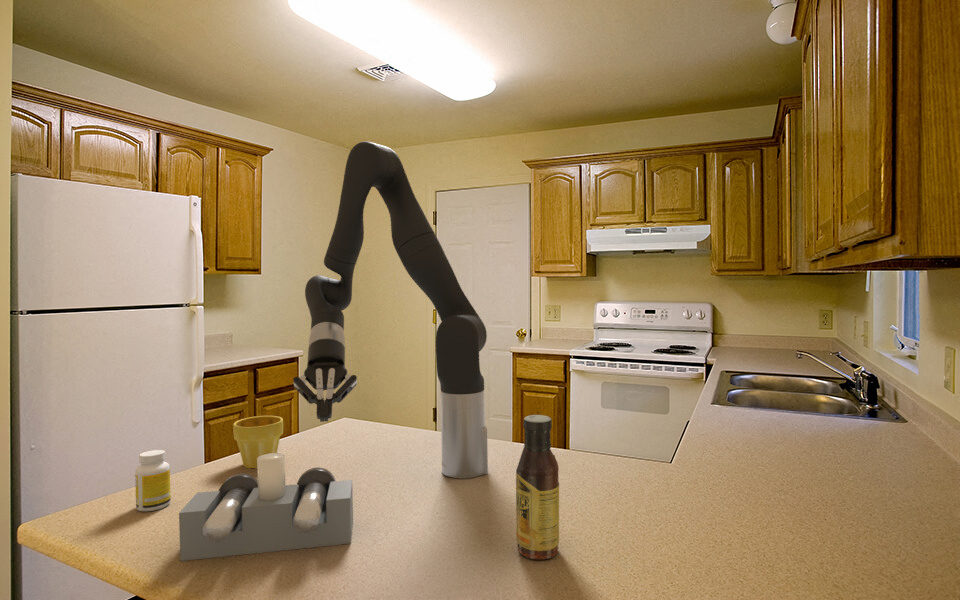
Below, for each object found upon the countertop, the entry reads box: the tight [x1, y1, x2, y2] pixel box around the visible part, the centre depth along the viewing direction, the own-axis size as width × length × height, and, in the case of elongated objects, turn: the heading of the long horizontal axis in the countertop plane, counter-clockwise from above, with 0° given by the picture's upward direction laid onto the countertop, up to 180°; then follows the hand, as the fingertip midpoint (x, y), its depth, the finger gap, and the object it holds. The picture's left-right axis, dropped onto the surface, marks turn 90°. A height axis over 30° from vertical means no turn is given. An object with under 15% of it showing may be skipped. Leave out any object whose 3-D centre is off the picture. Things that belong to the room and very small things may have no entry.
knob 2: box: [293, 467, 337, 533], centre depth 85 cm, size 6×14×6 cm, turn 11°
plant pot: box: [232, 415, 284, 469], centre depth 121 cm, size 10×10×10 cm
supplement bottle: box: [134, 449, 171, 512], centre depth 98 cm, size 5×5×10 cm
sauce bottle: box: [515, 414, 560, 561], centre depth 79 cm, size 7×6×20 cm
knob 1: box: [203, 472, 258, 542], centre depth 82 cm, size 6×14×6 cm, turn 11°
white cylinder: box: [256, 452, 286, 500], centre depth 84 cm, size 4×4×6 cm
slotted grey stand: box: [178, 479, 354, 562], centre depth 84 cm, size 24×8×7 cm, turn 101°
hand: (324, 419), depth 104 cm, fingers closed
